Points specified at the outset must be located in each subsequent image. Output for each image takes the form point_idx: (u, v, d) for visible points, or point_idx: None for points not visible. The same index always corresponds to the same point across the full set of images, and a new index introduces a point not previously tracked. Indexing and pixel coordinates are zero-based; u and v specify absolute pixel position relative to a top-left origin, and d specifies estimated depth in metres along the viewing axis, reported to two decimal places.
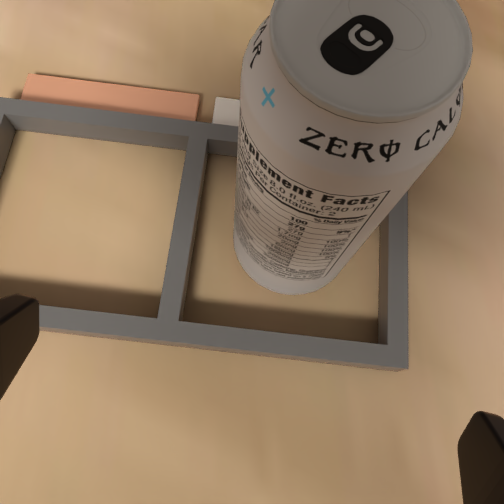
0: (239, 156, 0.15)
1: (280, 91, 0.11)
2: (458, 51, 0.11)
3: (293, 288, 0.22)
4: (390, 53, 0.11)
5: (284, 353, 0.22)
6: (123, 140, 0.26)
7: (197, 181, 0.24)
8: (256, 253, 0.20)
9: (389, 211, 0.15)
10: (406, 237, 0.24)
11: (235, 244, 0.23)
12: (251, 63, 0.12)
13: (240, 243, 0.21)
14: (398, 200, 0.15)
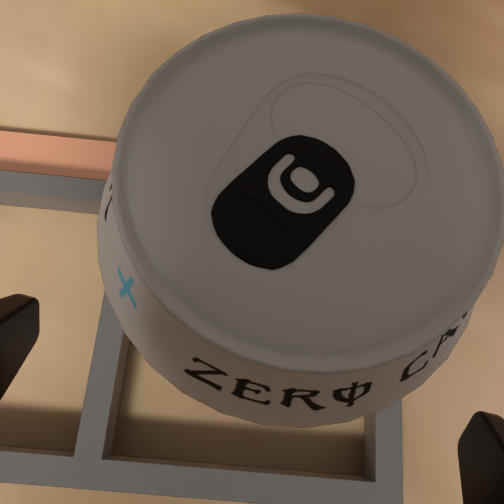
0: None
1: (142, 289, 0.06)
2: (479, 206, 0.06)
3: None
4: (348, 217, 0.06)
5: (240, 500, 0.17)
6: (42, 206, 0.21)
7: None
8: None
9: None
10: None
11: None
12: (106, 211, 0.07)
13: None
14: None
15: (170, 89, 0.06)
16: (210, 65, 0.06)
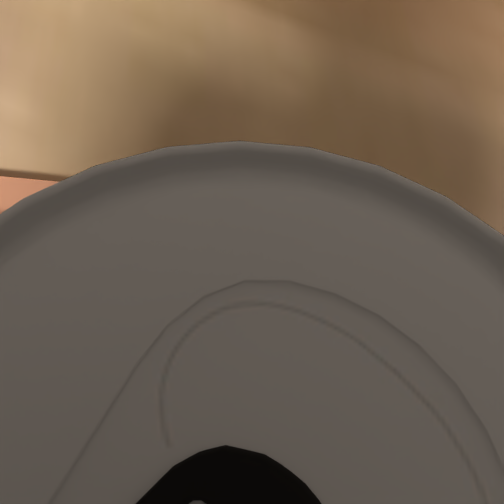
0: None
1: None
2: None
3: None
4: None
5: None
6: None
7: None
8: None
9: None
10: None
11: None
12: None
13: None
14: None
15: None
16: (37, 265, 0.03)
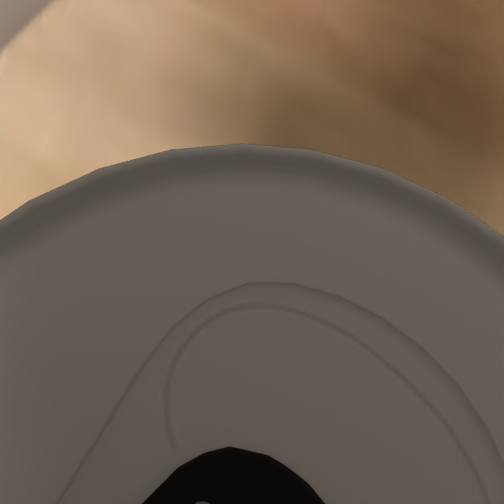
0: None
1: None
2: None
3: None
4: None
5: None
6: None
7: None
8: None
9: None
10: None
11: None
12: None
13: None
14: None
15: None
16: (42, 268, 0.03)
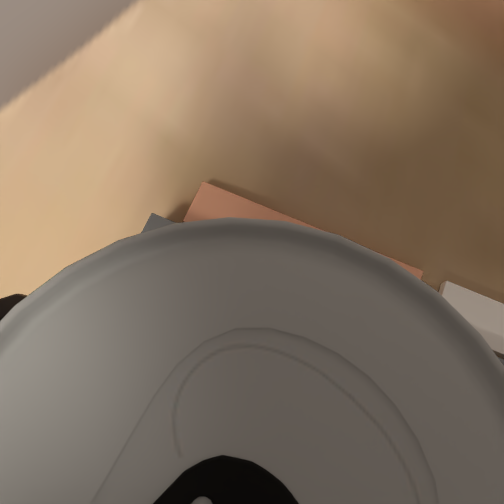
0: None
1: None
2: None
3: None
4: None
5: None
6: None
7: None
8: None
9: None
10: None
11: None
12: None
13: None
14: None
15: (4, 372, 0.04)
16: (77, 320, 0.04)
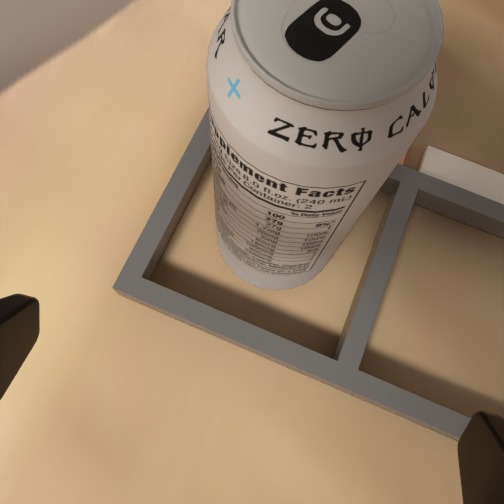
0: (212, 151, 0.15)
1: (245, 82, 0.10)
2: (429, 32, 0.10)
3: (279, 283, 0.21)
4: (358, 37, 0.10)
5: (459, 436, 0.21)
6: None
7: (401, 230, 0.23)
8: (238, 249, 0.19)
9: (369, 201, 0.15)
10: None
11: (218, 241, 0.22)
12: (216, 53, 0.11)
13: (222, 240, 0.21)
14: (377, 190, 0.14)
15: None
16: None
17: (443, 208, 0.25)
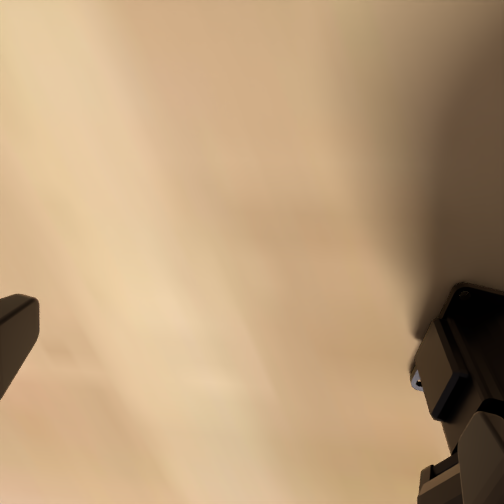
0: None
1: None
2: None
3: None
4: None
5: None
6: None
7: None
8: None
9: None
10: None
11: None
12: None
13: None
14: None
15: None
16: None
17: None
